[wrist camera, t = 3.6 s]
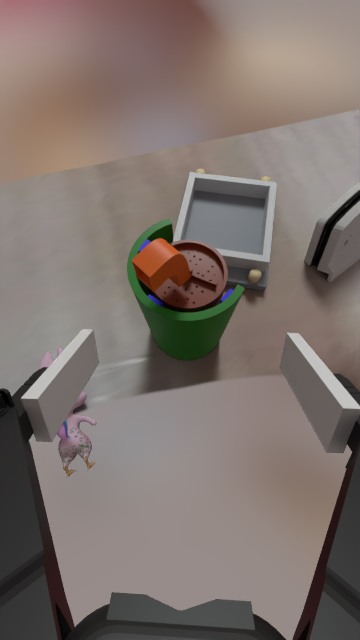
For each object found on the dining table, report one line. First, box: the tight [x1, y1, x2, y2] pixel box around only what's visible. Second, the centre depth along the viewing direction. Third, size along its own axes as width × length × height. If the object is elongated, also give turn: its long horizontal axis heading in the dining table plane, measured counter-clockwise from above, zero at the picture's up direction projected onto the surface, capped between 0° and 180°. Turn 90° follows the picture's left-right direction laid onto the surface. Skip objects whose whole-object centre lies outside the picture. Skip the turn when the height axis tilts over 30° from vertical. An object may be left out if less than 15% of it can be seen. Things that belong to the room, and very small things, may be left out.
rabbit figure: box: [39, 348, 96, 478], centre depth 29 cm, size 6×6×15 cm
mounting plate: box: [173, 169, 277, 291], centre depth 38 cm, size 15×20×4 cm
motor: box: [127, 218, 245, 360], centre depth 25 cm, size 10×9×20 cm
